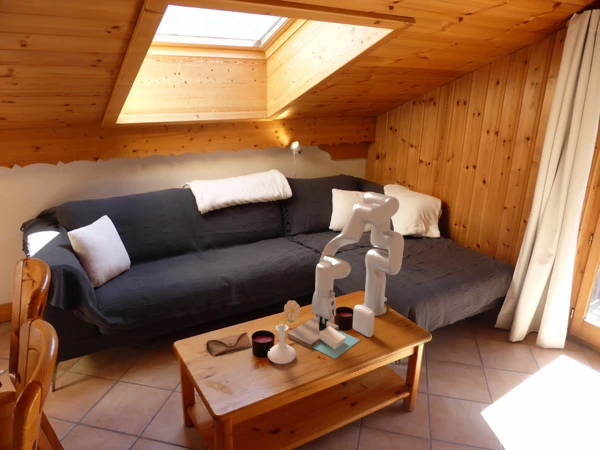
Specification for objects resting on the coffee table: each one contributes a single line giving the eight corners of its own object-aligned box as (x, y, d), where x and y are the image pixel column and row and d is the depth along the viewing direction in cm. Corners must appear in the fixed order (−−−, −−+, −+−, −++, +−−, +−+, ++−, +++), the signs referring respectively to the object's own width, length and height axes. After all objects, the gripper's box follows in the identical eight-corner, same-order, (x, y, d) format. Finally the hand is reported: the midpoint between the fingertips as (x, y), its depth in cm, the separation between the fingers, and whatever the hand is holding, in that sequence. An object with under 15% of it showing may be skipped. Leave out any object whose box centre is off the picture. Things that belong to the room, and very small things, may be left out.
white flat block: (328, 331, 180) (329, 325, 178) (344, 342, 175) (346, 337, 173) (318, 337, 174) (319, 332, 173) (334, 349, 169) (336, 344, 168)
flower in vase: (272, 369, 157) (272, 311, 149) (264, 353, 167) (263, 297, 160) (304, 362, 161) (305, 305, 154) (293, 346, 172) (294, 292, 164)
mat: (337, 330, 184) (337, 329, 184) (359, 340, 177) (359, 340, 177) (311, 347, 171) (312, 346, 171) (335, 359, 164) (335, 358, 164)
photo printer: (350, 328, 186) (352, 304, 183) (357, 325, 189) (359, 301, 185) (368, 338, 179) (369, 313, 175) (374, 335, 181) (376, 310, 178)
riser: (316, 319, 193) (316, 315, 192) (338, 329, 185) (338, 325, 184) (287, 336, 178) (287, 332, 178) (310, 348, 170) (310, 344, 170)
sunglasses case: (211, 357, 163) (208, 341, 164) (208, 357, 169) (205, 341, 170) (254, 347, 171) (251, 330, 172) (249, 346, 177) (246, 331, 178)
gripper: (343, 293, 170) (341, 332, 175) (315, 283, 180) (314, 320, 185) (332, 299, 165) (331, 339, 170) (304, 288, 174) (303, 326, 179)
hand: (322, 329), depth 177 cm, fingers closed
